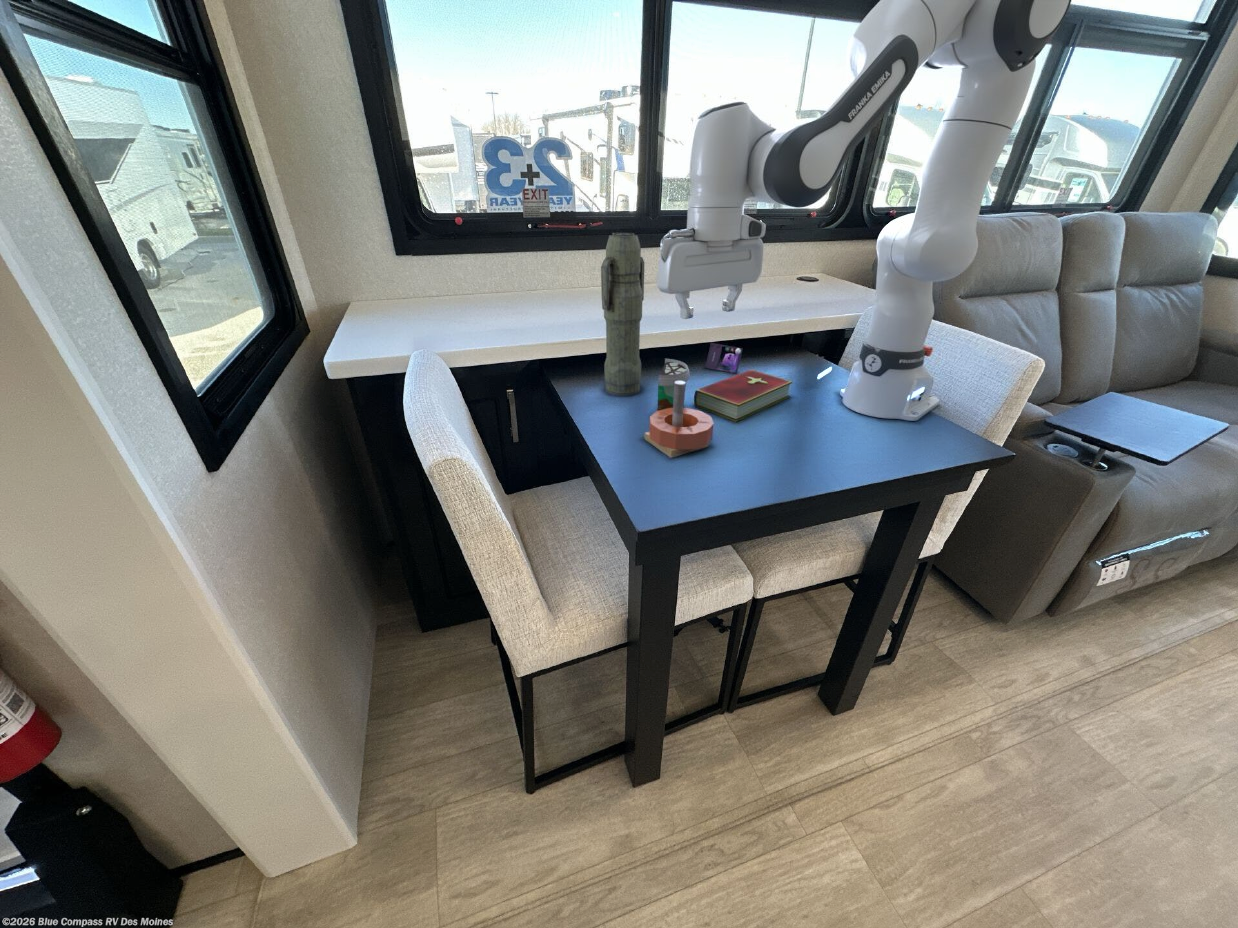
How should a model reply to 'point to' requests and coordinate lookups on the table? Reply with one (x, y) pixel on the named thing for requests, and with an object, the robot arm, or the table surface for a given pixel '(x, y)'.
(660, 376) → the food container
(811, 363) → the table surface
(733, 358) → the purple rectangular box
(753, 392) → the hardcover book
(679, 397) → the stand
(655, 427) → the ring
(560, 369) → the table surface
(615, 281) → the grey-green tall cylinder
